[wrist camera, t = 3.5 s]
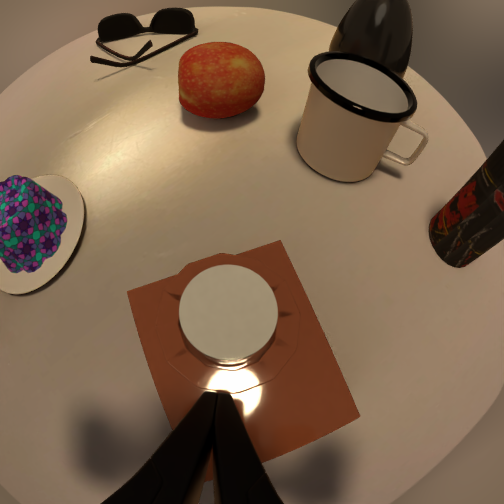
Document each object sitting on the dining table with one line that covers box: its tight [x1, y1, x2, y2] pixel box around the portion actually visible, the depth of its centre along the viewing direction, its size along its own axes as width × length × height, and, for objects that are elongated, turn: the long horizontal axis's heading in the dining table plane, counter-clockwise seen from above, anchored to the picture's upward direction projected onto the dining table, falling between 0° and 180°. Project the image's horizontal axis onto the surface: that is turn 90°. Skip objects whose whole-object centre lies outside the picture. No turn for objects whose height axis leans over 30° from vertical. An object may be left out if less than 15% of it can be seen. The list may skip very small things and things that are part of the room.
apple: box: [178, 42, 265, 118], centre depth 27 cm, size 8×8×8 cm
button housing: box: [127, 240, 360, 482], centre depth 17 cm, size 12×10×6 cm
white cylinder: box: [179, 265, 278, 364], centre depth 15 cm, size 4×4×2 cm
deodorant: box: [429, 140, 504, 268], centre depth 19 cm, size 6×6×15 cm
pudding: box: [0, 175, 84, 294], centre depth 20 cm, size 12×12×5 cm
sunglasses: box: [90, 8, 198, 67], centre depth 33 cm, size 17×14×5 cm
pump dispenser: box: [329, 0, 413, 79], centre depth 29 cm, size 10×10×15 cm
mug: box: [297, 51, 428, 182], centre depth 25 cm, size 12×10×9 cm
